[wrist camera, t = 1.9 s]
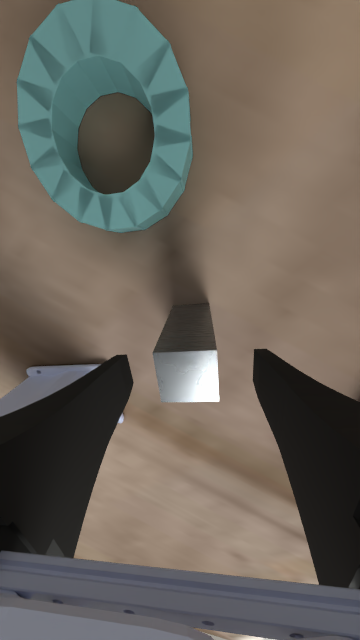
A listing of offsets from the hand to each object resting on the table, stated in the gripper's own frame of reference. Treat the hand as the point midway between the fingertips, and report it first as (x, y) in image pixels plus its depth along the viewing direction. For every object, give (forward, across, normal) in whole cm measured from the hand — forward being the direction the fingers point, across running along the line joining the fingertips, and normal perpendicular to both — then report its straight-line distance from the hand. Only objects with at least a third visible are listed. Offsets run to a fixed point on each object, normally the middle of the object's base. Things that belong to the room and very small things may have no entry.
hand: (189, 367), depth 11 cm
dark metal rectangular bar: (+7, 0, 0) cm, 7 cm away
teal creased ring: (+7, +4, -13) cm, 15 cm away
